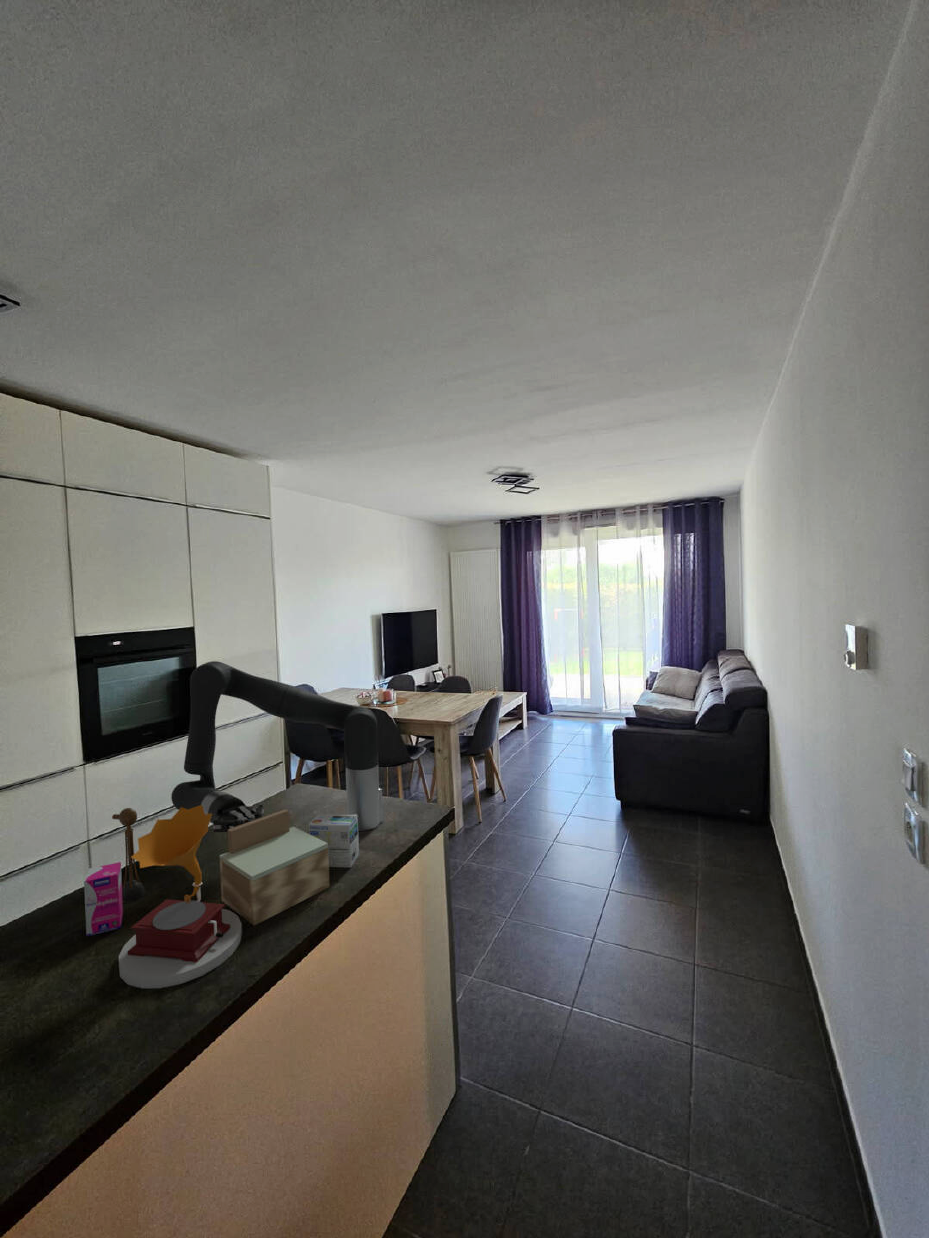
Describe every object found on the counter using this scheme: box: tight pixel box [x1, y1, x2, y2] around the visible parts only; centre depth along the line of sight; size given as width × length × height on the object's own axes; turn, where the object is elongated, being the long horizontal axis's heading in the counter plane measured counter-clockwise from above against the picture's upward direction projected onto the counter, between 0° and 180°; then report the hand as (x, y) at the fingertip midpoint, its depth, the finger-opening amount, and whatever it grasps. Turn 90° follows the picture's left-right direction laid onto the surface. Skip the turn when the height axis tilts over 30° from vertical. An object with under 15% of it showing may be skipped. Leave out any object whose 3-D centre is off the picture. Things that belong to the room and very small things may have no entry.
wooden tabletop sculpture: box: [111, 807, 146, 903], centre depth 119 cm, size 6×5×20 cm
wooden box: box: [219, 848, 330, 926], centre depth 119 cm, size 18×14×9 cm
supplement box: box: [83, 862, 124, 937], centre depth 108 cm, size 6×6×12 cm
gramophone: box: [118, 805, 243, 989], centre depth 100 cm, size 20×20×25 cm
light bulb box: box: [307, 813, 360, 869], centre depth 133 cm, size 11×7×11 cm, turn 84°
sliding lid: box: [219, 809, 328, 881], centre depth 118 cm, size 18×14×6 cm
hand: (257, 827), depth 123 cm, fingers closed
